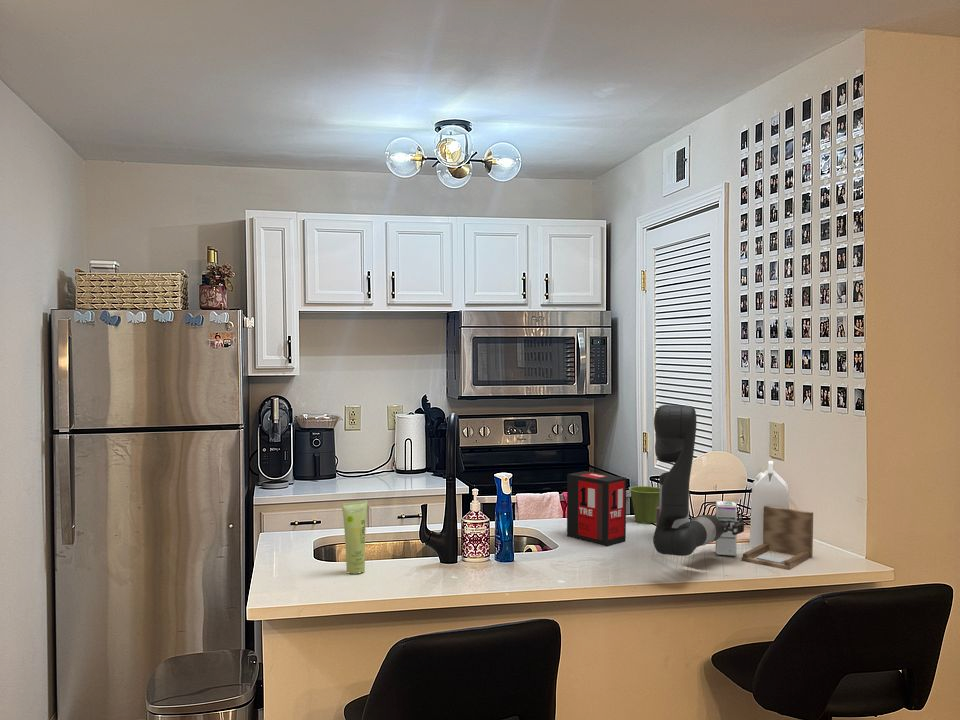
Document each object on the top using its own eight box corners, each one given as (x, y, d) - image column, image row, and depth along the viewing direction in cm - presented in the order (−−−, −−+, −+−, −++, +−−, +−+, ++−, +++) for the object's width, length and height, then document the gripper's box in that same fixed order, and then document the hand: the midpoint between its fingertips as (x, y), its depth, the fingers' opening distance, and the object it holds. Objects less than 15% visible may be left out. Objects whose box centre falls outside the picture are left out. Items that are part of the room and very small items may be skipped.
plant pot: (667, 525, 288) (667, 492, 287) (632, 525, 288) (632, 492, 287) (659, 517, 300) (659, 485, 299) (625, 517, 299) (625, 485, 299)
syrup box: (736, 555, 245) (738, 505, 244) (715, 554, 246) (716, 504, 245) (735, 550, 250) (736, 501, 250) (714, 549, 252) (715, 500, 251)
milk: (789, 553, 253) (791, 466, 252) (749, 550, 257) (750, 464, 256) (789, 543, 265) (790, 460, 264) (750, 540, 269) (751, 458, 267)
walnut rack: (740, 564, 242) (741, 515, 241) (764, 552, 255) (765, 505, 254) (789, 574, 233) (790, 523, 232) (812, 560, 246) (813, 512, 245)
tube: (359, 576, 231) (358, 504, 230) (342, 574, 232) (341, 503, 231) (368, 570, 236) (367, 500, 235) (351, 568, 237) (350, 498, 237)
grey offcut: (756, 560, 242) (756, 557, 242) (764, 557, 245) (764, 554, 245) (779, 566, 237) (779, 562, 237) (787, 562, 240) (787, 559, 240)
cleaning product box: (625, 541, 267) (626, 478, 266) (607, 546, 261) (607, 481, 260) (585, 531, 279) (585, 471, 278) (566, 536, 273) (567, 474, 272)
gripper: (727, 521, 232) (752, 511, 244) (679, 513, 241) (706, 504, 254) (726, 548, 232) (752, 537, 245) (679, 539, 242) (705, 529, 254)
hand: (728, 520), depth 249 cm, fingers closed on syrup box, 7 cm apart
